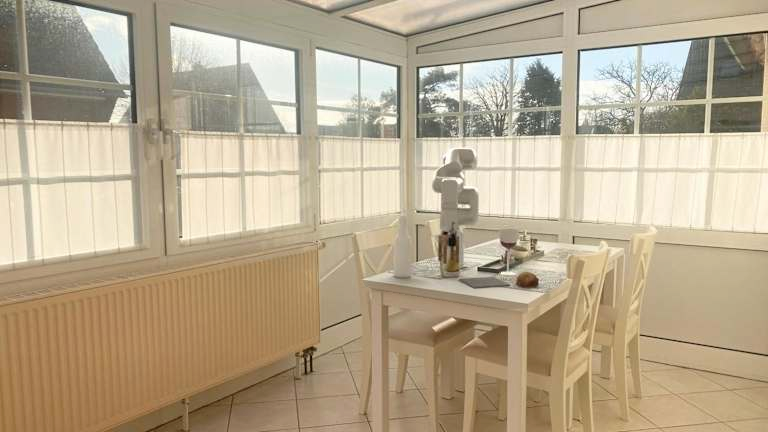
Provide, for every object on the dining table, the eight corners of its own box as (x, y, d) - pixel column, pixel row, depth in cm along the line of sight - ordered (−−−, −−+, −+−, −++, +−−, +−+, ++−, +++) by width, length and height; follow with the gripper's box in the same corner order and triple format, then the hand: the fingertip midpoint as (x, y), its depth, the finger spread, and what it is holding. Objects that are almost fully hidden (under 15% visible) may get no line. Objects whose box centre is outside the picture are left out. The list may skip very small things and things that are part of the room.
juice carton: (444, 277, 274) (444, 228, 271) (438, 274, 281) (439, 226, 278) (461, 276, 276) (462, 228, 273) (455, 273, 284) (456, 225, 281)
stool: (438, 260, 260) (438, 234, 258) (452, 259, 262) (453, 234, 260) (444, 263, 253) (444, 237, 251) (458, 262, 255) (459, 236, 253)
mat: (458, 280, 269) (458, 278, 269) (492, 277, 274) (492, 276, 274) (473, 288, 252) (474, 287, 252) (510, 285, 257) (510, 284, 257)
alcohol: (391, 277, 274) (391, 215, 271) (396, 273, 283) (397, 213, 279) (408, 278, 271) (408, 216, 268) (413, 274, 280) (414, 214, 276)
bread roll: (516, 290, 264) (509, 275, 263) (536, 280, 265) (529, 265, 264) (523, 295, 255) (516, 280, 253) (543, 285, 255) (537, 270, 254)
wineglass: (517, 275, 279) (519, 231, 276) (497, 274, 281) (499, 230, 278) (517, 272, 287) (518, 229, 285) (497, 271, 289) (499, 228, 287)
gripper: (434, 204, 261) (434, 241, 264) (449, 208, 245) (448, 248, 247) (449, 203, 263) (448, 241, 266) (465, 208, 247) (464, 247, 249)
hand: (448, 244), depth 256 cm, fingers closed on stool, 7 cm apart
